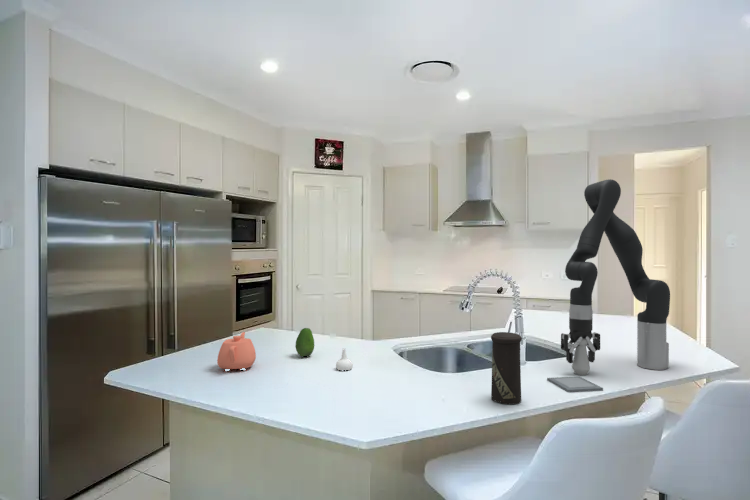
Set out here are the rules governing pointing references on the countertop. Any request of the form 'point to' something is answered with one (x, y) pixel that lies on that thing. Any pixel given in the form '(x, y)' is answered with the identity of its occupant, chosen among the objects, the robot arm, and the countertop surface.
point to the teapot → (236, 353)
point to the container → (506, 368)
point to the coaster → (574, 384)
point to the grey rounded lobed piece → (581, 359)
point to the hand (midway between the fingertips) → (580, 362)
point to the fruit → (305, 342)
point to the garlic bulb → (344, 362)
